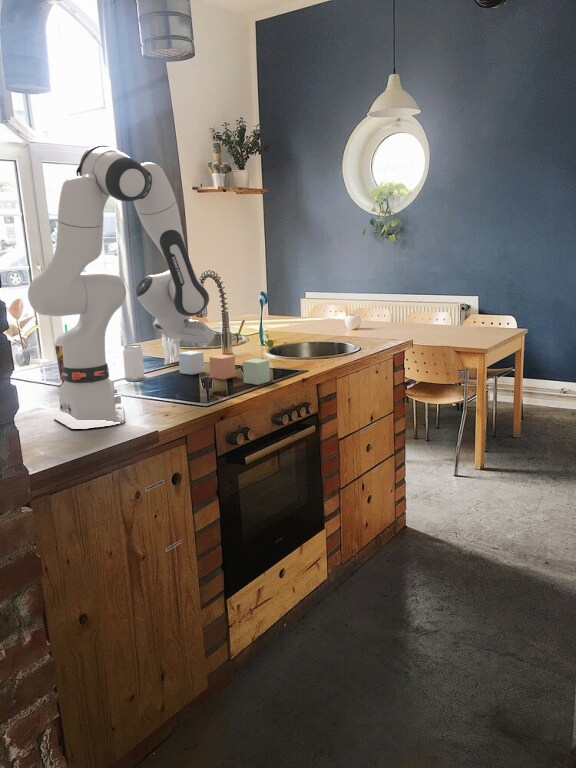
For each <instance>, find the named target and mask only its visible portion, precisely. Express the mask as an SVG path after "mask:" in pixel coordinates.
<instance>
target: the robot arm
mask: <svg viewBox="0 0 576 768" xmlns="http://www.w3.org/2000/svg"><path fill="white" fill-rule="evenodd" d="M75 172H76V173H75V174H76V175H75V176H71V177H69V178H67V179H66V180H65V181H64V182H63V183H62V187H61V190H60V191H61V192H60V194H59V201H58V210H57V232H56V233H57V235H56V243H55V245H56V246H55V251H54V254H53V256H52V259H51V261H50V262H49V264H48V265H47V267H46V268H45V269H44V270H43V271H42V272H41V273H39V275H38V276H36V277H34V278H33V279H32V281H31V282H30V285H29V287H28V290H27V299H28V302H29V304H30V306H31V308H32V309H33V310H34V311H35V312H36V314H38V315H41V316H50V317H63V316H64V317H65V316H74V315H75V316H76V315H79V319H78V321H77V324H75V326H74V327H72V328H71V329H69V330H67V332H66V333H65V332H64V333H65V335H64V336H63V338H62V352H63V363H64V366H63V367H62V370H63V371H62V374H63V379H64V383H62V384H61V386H59V387H58V403H59V412H60V411H62V412H65V413H68V414H69V415H71V416H72V417H74V418H75V419H77V420H106V421H113V422H120V423H122V424H125V423H126V417H125V408H124V406H120V404H121V403H122V397H121V395H119V394H118V388H115V384H114V382H113V380H111V378H110V373H109V370H110V369H109V366H108V363H107V360H106V334H107V333H106V331H107V327H108V326H109V322H110V320H111V319H112V317H113V315H114V314H115V313H116V312H117V310H119V309H120V308H121V307H122V306H123V304H124V302H125V299H126V295H127V289H126V285H125V282H124V281H123V279H122V278H121V277H120V276H119V275H118V274H117V273H111V272H105V271H87V272H86V271H85V272H84V269H85V268H86V267H87V266H88V265H89V264H91V263H92V262H94V261H96V260H97V259H98V258H99V257H100V255H101V254H102V251H103V240H104V239H103V237H104V210H105V207H106V203H107V202H108V200H109V198H110V197H112V198H114V199H116V200H117V201H120V202H133V205H134V207H135V211H136V214H137V216H138V218H139V221H140V222H141V225H142V226H143V228H144V230H145V232H146V233H147V235H149V238H150V239H151V240H152V241H153V243H154V244H155V246H156V247H157V249H158V250H159V251H160V254H161V255H162V256H163V259H164V261H165V263H166V265H167V268H168V270H167V271H165V272H163V273H158V274H150V275H146V276H144V277H143V278H142V279H141V280H140V281H139V283H138V285H137V287H136V290H135V295H136V297H137V300H138V302H139V303H140V304H141V305H142V306H143V308H144V309H145V311H147V312H148V313H149V314H150V315H151V316H153V317H155V319H154V322H153V323H152V327H154V328H156V329H157V330H158V331H160V333H161V332H162V333H163V334H164V335H165V336H166V337H168V338H170V339H176V340H180V341H184V342H187V343H190V345H193V346H194V347H195V348H199V349H203V348H204V347H205V344H207V345H210V344H212V342H213V341H214V339H215V337H216V334H215V332H214V331H213V330H212V329H211V328H210V327H209V326H208V325H207V324H206V323H204V322H203V321H201V320H198V319H197V320H196V319H191V317H193V316H197V315H199V314H200V313H202V312H203V311H205V310H206V308H207V307H208V304H209V303H210V295H209V293H208V291H207V290H206V288H205V287H204V286H203V284H202V283H201V281H200V279H199V277H198V276H197V274H196V273H195V271H194V269H193V265H192V263H191V260H190V257H189V254H188V251H187V247H186V243H185V237H184V232H183V227H182V222H181V217H180V216H181V215H180V210H179V206H178V202H177V199H176V196H175V194H174V193H175V192H174V190H173V188H172V185H171V183H170V181H169V178H168V177H167V175H166V174H165V172H164V170H163V169H162V167H161V166H160V165H159V164H157V163H153V162H144V163H143V162H142V163H140V162H139V161H138V160H137V159H134V158H132V157H130V156H129V155H127V154H126V153H124V152H123V151H121V150H118V149H116V148H112V147H110V146H107V145H101V144H100V145H93V146H91V147H89V148H88V149H86V150H85V151H84V153H83V154H82V156H81V159H80V162H79V165H78V167H77V169H76V171H75ZM116 394H118V395H116ZM124 422H125V423H124Z"/></svg>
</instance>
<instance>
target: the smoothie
mask: <svg viewBox="0 0 576 768" xmlns="http://www.w3.org/2000/svg"><path fill="white" fill-rule="evenodd" d="M67 325H68V324H66V323H65V324H64V332H63V333H61V334H59V335H58V336H57V338H56V340H55V342H54V349H55V355H56V361H57V362H56V363H57V367H58V368H57V369H58V372H59V373H58V374H59V378H60V381H61V383H62V384H63V383H64V379H63V374H62V371H63V370H62V367H63V366H64V363H63V352H62V338H63V336H64V335H65V333H66V332H68V326H67Z"/></svg>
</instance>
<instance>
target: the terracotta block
mask: <svg viewBox="0 0 576 768" xmlns="http://www.w3.org/2000/svg"><path fill="white" fill-rule="evenodd" d="M209 375H210V378H211V379H217V380H218V379H219V380H227V379H230V378H235V377H236V356H235V355H231V354H230V355H229V354H217V355H213V356H209Z"/></svg>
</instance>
